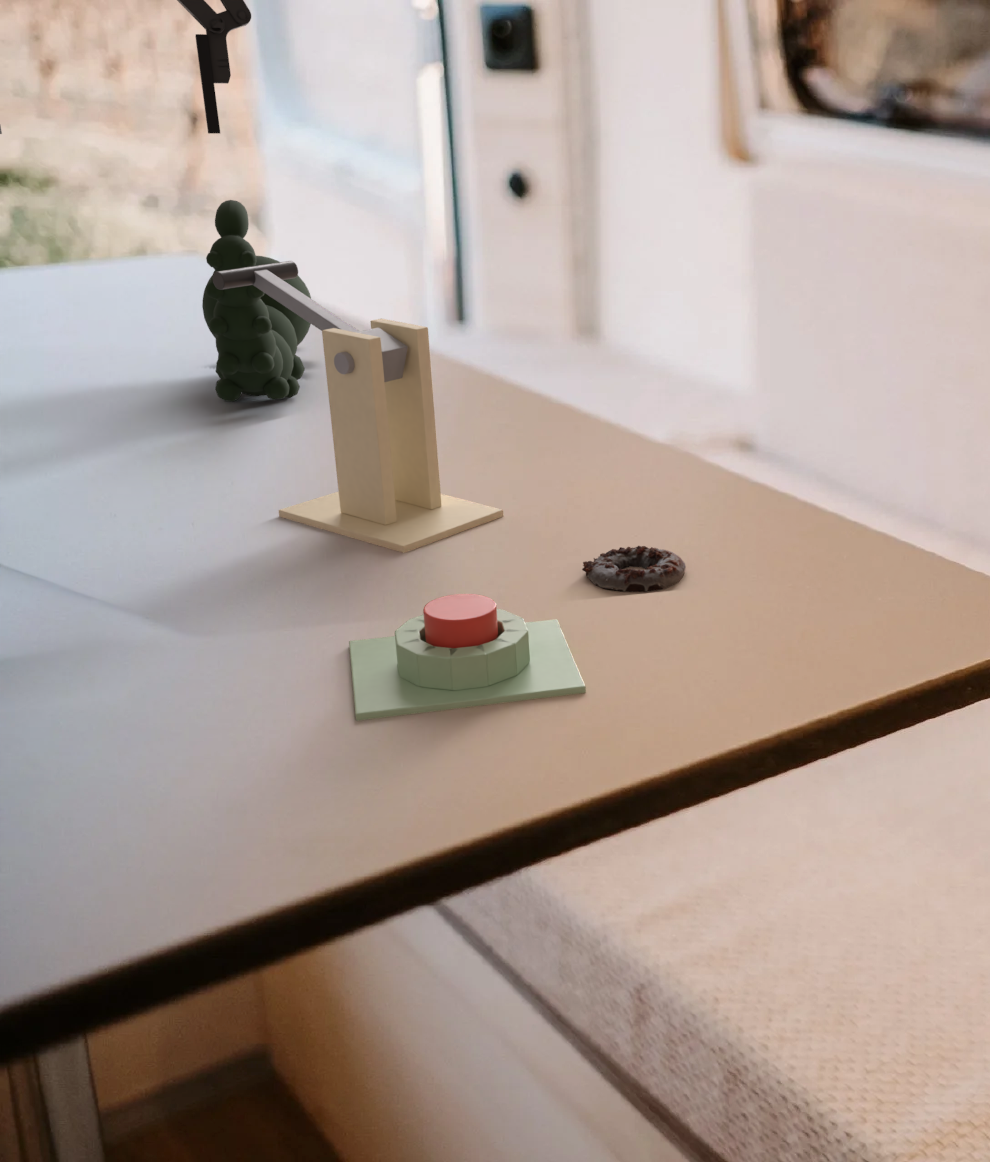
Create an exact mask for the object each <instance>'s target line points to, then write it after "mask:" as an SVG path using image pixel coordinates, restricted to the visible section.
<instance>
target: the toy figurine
mask: <svg viewBox="0 0 990 1162" xmlns="http://www.w3.org/2000/svg"><path fill="white" fill-rule="evenodd" d="M214 227H215V229H216V232H217V234H218V235H219V237H220V238H218V239H216V240H215V241H214V242H213V244H212V245H211V247H210V249H209V252H208V253H207V255H206V257H205V260H206V263H207V264H208V266H209V267H210V268H213V269H214V270H213V272H212V275H211V276H210V277H209V279H208V280H207V283H206V285H205V287H204V291H203V294H202V304H201V306H202V307H201V308H202V313H203V319H204V321H205V323H206V326H207V328H208V331H209V332H210V333H211V334H212V336H213V337H214V339H215V348H216V352H217V354H218V355H217V360H216V362H215V363H216V366H215V373H216V374H217V376H218V378H219V379H218V380H217V381H216V384H215V389H214V391H215V392H216V395H217V397H218V398H219V399H220V400H223V401H224V402H235V401H236V400H239V399H240V398H241V396H242V394H244V395H247V396H253V397H264V396H267V398H268V399H271V400H281V399H282V400H283V399H291V398H293V397H295V396H296V395H298V393H299V390H300V388H301V387H300V384H299V382H298V381H299V380H300V379H301V378H302V377H303V376H304V372H305V370H306V369H305V365H304V363H303V361H302V359H301V357H300V356H298V355H296V354H297V351H298V346H299V345H300V344H301V343H302V342H304V339H305V338H306V336H307V334H308V332H309V331H310V327H311V325H312V324H311V323H309V322H308V321H306V320H305V319H303V318H302V317H300V316H299V315H297V314H296V313H294V312H293V311H291V310H290V309H288V308H287V307H285V306H284V305H282V304H281V303H279V302H278V301H276V300H275V299H273V298H272V297H270V296H269V295H267V294H266V293H264V292H263V291H261V290H260V289H258V288H257V287H255V286H254V285H248V286H242V287H235V288H229V289H223V290H219V289H217V288H216V287H215V285H214V283H213V274H214V273H215V272H217V271H224V270H231V269H238V268H245V267H251V266H258V265H265V264H272V263H279V262H280V261H279V260H276V259H274V258H271V257H268V256H263V255H257V254H256V252H255V249H254V247H253V246H252V245H251V243H250V242H249V241H248V240H246V239H245V237H246V236H247V233H248V231H249V214H248V211H247V208H246V207H245V205H244V204H242V202H240V201H238V200H234V199H228V200H225V201H223V202H221V203H220V204H219V206H218V207H217V209H216V213H215V217H214ZM283 281H285V282H286V283H288V284H289V285H291V286H292V287H294V288H295V289H297V290H298V291H300V292H301V293H303V294H304V295H306V296H307V297H309V298H310V299H312V296H311V292H310V289H308V286H307V284H306V283H305V281H304V280H303V279H302V278H301V277H300V275H299V274H298V275H297V277H296V278H292V279H286V280H283Z"/></svg>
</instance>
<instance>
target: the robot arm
mask: <svg viewBox="0 0 990 1162" xmlns="http://www.w3.org/2000/svg"><path fill="white" fill-rule="evenodd" d="M176 1H177V2H178V3H179V4H180V5H181V6H182V8H184V9H185V10H186V11H187V12H188V13H189V14H190V15H191V16H192V17H193V18H194V20H196V22H197V23H198V24H199V25H200V26H201V27H202V28H203V29H204V30H205V34H203V33H197V34H195V43H196V51H197V58H198V67H199V75H200V82H201V90H202V98H203V105H204V113H205V120H206V121H205V122H206V127H207V134H221V127H220V119H219V111H218V106H217V105H218V103H217V96H216V88H215V84H229V83H230V79H231V66H230V59H229V49H228V42H227V37H228V34H229V33H230V32H232V31H234V30H237V29H239V28H242V27H245V26H247V25H249V24H250V22H251V19H252V13H251V10H250V9H249V7H248V5H247V4H246V2H245V0H219V1H220V3H221V4H222V6H223V8H224V9H225V10H224V11H221V12H218V13H217V12H216V11H215V10H214V9H213V8H212V7H211V6H210V4H209V3H208V2H206V1H205V0H176ZM2 134H3V132H2V127H1V125H0V135H2Z"/></svg>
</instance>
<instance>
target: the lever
mask: <svg viewBox="0 0 990 1162" xmlns="http://www.w3.org/2000/svg"><path fill="white" fill-rule="evenodd" d="M212 275H213V283H214V285H215V287H216V288H217V289H219V290H223V289H229V288H235V287H242V286H248V285H254V286H255V287H257V288H258V289H260V290H261V291H263V292H264V293H266V294H267V295H269V296H270V297H272V298H273V299H275V300H276V301H278V302H279V303H281V304H282V305H284V306H285V307H287V308H288V309H290V310H291V311H293V312H294V313H296V314H297V315H299V316H300V317H302V318H303V319H305V320H306V321H308V322H309V323H311V325H312V326H313V327H315V328H316V329H318V330H320V331H321V332H322V330H326V329H331V328H336V329H341V330H346V331H351V332H356V333H362V334H367V335H372V336H377V337H380V338H381V349H382V360H383V371H384V382H388V381H392V380H396V379H400V378H402V377H403V371H404V366H405V360H406V354H407V349H408V346H406V345H405V344H403V343H402V342H400V341H399V340H397V339H396V338H394V337H393V336H391V335H389V334H388V333H386V332H385V331H383V330H382V329H380V328H374V329H371V328H369V329H364V330H359V329H357V328H356V327H354V326H353V325H352V324H350V323H349V322H347V321H345V320H344V319H343V318H341V317H339V316H338V315H336V314H335V313H333V312H332V311H330V310H328V309H327V308H326V307H324V306H323V305H322V304H319V303H318V302H317V301H315V300H314V299H312V298H311V299H310V298H309V297H307V296H306V295H304V294H303V293H301V292H300V291H298V290H297V289H295V288H294V287H292V286H291V285H289V284H288V283H286V282H285V281H283V280H286V279H292V278H296V277H297V275H298V276H299V268H298V265H297V263H295V262H294V261H293V260H286V261H279V263H272V264H265V265H258V266H251V267H245V268H238V269H231V270H224V271H217V272H215V273H214V274H213V273H212Z"/></svg>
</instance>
